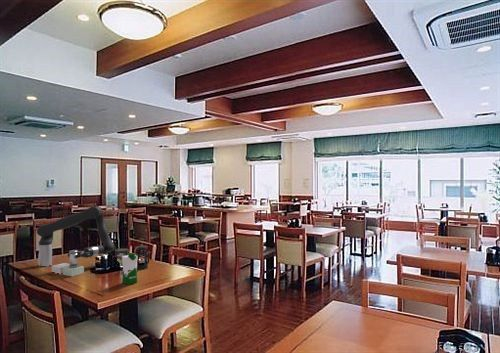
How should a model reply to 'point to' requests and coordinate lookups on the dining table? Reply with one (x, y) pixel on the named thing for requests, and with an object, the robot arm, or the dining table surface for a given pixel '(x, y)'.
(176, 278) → the dining table surface
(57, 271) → the stand
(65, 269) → the stand
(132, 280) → the milk carton
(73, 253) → the cylinder
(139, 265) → the french press
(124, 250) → the coffee can
